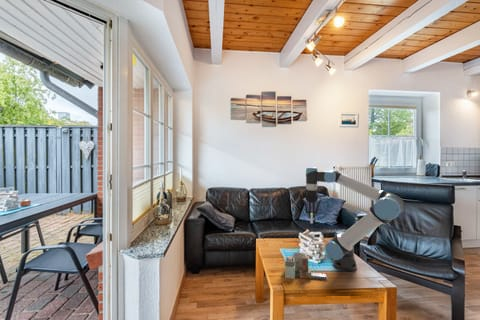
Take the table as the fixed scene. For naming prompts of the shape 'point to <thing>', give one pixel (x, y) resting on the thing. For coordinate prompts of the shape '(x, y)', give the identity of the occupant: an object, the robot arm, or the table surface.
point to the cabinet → (289, 268)
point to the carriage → (305, 268)
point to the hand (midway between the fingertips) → (311, 222)
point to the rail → (313, 275)
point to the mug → (298, 260)
